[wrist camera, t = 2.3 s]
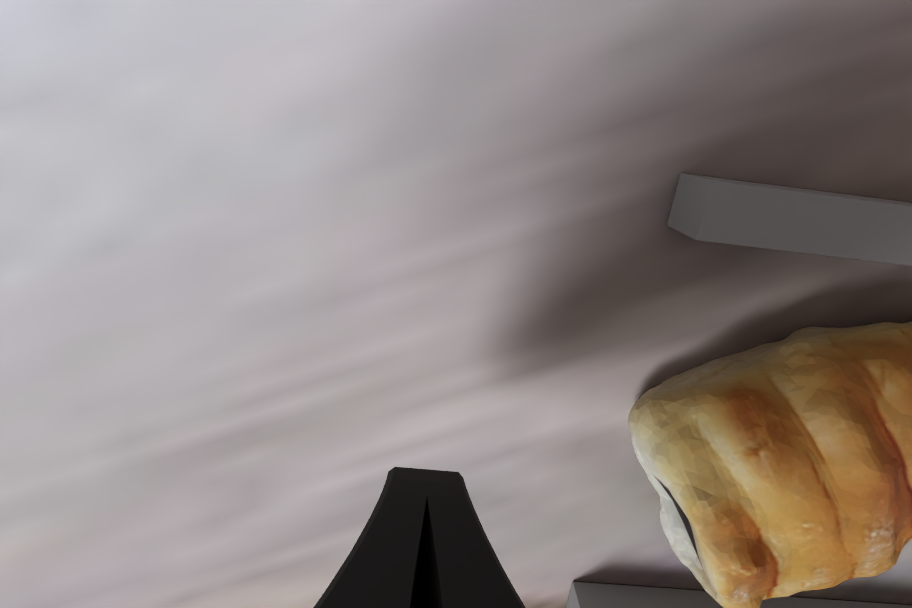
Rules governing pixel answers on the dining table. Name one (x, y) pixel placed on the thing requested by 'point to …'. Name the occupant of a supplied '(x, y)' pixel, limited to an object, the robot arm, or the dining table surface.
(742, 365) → the pastry
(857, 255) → the bay
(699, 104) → the dining table surface
